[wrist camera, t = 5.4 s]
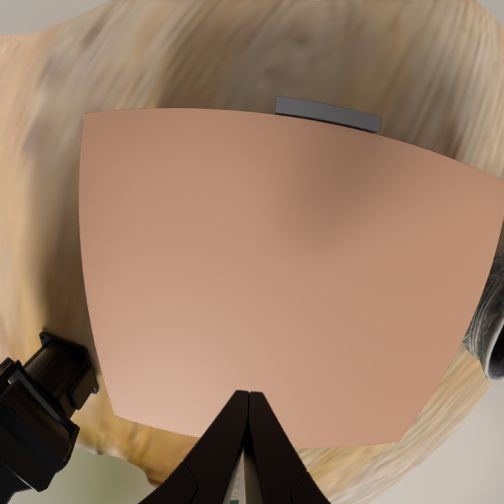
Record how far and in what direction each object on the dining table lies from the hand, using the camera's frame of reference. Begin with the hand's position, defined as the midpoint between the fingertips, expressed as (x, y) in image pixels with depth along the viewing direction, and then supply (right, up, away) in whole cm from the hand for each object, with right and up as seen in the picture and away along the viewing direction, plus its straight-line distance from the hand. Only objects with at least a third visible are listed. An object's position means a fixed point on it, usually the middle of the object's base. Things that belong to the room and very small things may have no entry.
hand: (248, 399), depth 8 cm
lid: (+2, +2, +6) cm, 6 cm away
